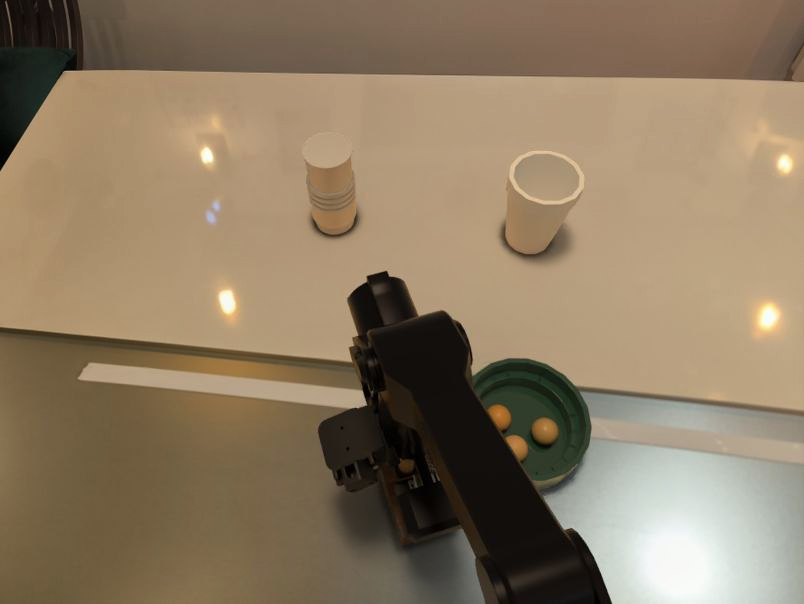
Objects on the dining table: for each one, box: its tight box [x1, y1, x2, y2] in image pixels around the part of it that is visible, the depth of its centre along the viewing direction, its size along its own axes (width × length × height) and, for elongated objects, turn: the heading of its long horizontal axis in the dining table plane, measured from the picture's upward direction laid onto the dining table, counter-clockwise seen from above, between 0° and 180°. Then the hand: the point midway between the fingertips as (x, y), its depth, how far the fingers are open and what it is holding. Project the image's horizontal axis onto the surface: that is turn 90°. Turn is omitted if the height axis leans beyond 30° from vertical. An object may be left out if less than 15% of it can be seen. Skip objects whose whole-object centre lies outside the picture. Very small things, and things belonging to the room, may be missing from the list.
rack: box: [378, 455, 433, 546], centre depth 69 cm, size 14×6×4 cm, turn 15°
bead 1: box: [487, 405, 511, 431], centre depth 72 cm, size 3×3×3 cm
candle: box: [301, 131, 357, 236], centre depth 87 cm, size 7×7×15 cm
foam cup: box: [504, 150, 585, 255], centre depth 83 cm, size 10×9×13 cm
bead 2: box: [505, 435, 528, 462], centre depth 69 cm, size 3×3×3 cm
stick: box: [397, 459, 415, 479], centre depth 66 cm, size 2×2×11 cm
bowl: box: [472, 357, 593, 491], centre depth 71 cm, size 14×14×5 cm
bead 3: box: [531, 418, 559, 445], centre depth 70 cm, size 3×3×3 cm
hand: (406, 458), depth 66 cm, fingers open, 6 cm apart
